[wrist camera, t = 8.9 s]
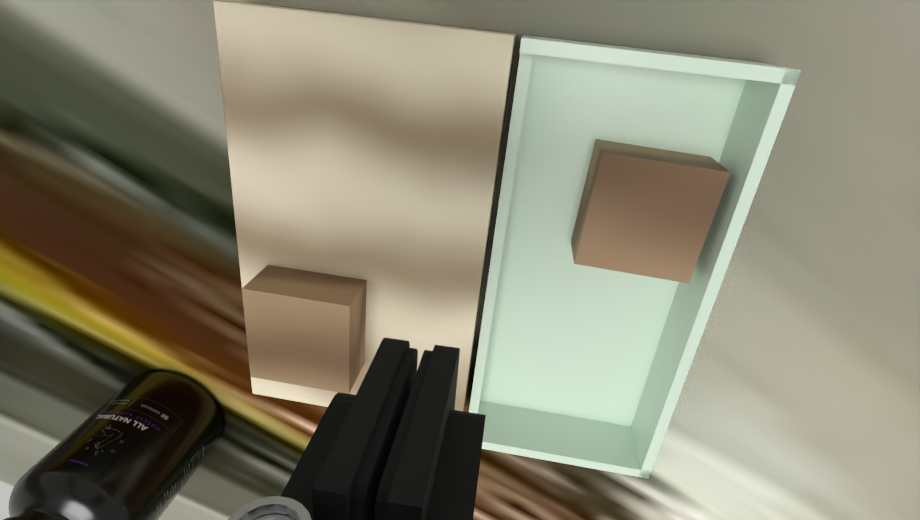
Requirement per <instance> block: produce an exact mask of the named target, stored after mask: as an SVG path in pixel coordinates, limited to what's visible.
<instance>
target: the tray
mask: <svg viewBox="0 0 920 520" xmlns="http://www.w3.org/2000/svg"><path fill="white" fill-rule="evenodd" d="M519 53H520V57H519V64H518V71H517V78H516V85H515V92H514V99H513V106H512V113H511V120H510V127H509V134H508V141H507V148H506V155H505V162H504V169H503V176H502V183H501V190H500V197H499V204H498V211H497V218H496V225H495V232H494V239H493V246H492V253H491V260H490V267H489V274H488V281H487V288H486V295H485V302H484V309H483V316H482V323H481V330H480V337H479V344H478V351H477V358H476V365H475V372H474V379H473V386H472V393H471V400H470V407H469V412H470V413H477V414H483V415H486V417H485V426H484V434H483V442H482V449H487V450H493V451H498V452H504V453H509V454H515V455H520V456H526V457H531V458H537V459H542V460H548V461H553V462H559V463H564V464H570V465H576V466H581V467H587V468H592V469H598V470H603V471H609V472H614V473H620V474H625V475H631V476H636V477H642V478H647V479H648V478H649V476H650V473H651V470H652V468H653V465H654V462H655V460H656V457H657V454H658V452H659V449H660V446H661V444H662V441H663V438H664V436H665V433H666V430H667V428H668V425H669V422H670V420H671V417H672V414H673V412H674V409H675V406H676V404H677V401H678V398H679V396H680V393H681V390H682V388H683V385H684V382H685V380H686V377H687V374H688V372H689V369H690V366H691V364H692V361H693V358H694V356H695V353H696V350H697V348H698V345H699V342H700V340H701V337H702V334H703V332H704V329H705V326H706V324H707V321H708V318H709V316H710V313H711V310H712V307H713V305H714V302H715V299H716V297H717V294H718V291H719V289H720V286H721V283H722V281H723V278H724V275H725V273H726V270H727V267H728V265H729V262H730V259H731V257H732V254H733V251H734V249H735V246H736V243H737V241H738V238H739V235H740V233H741V230H742V227H743V225H744V222H745V219H746V217H747V214H748V211H749V209H750V206H751V203H752V201H753V198H754V195H755V193H756V190H757V187H758V185H759V182H760V179H761V177H762V174H763V171H764V169H765V166H766V163H767V161H768V158H769V155H770V153H771V150H772V147H773V145H774V142H775V139H776V137H777V134H778V131H779V129H780V126H781V123H782V121H783V118H784V115H785V113H786V110H787V107H788V105H789V102H790V99H791V97H792V94H793V91H794V89H795V86H796V83H797V81H798V78H799V75H800V73H801V70H797V69H792V68H787V67H782V66H777V65H772V64H767V63H761V62H753V61H744V60H736V59H727V58H718V57H710V56H701V55H693V54H684V53H675V52H667V51H658V50H650V49H641V48H632V47H624V46H615V45H606V44H598V43H589V42H581V41H572V40H563V39H555V38H546V37H538V36H529V35H523V36H522V38H521V44H520V51H519ZM596 139H599V140H606V141H612V142H619V143H625V144H631V145H638V146H644V147H651V148H657V149H664V150H670V151H676V152H683V153H689V154H696V155H702V156H708V157H712V158H713V159H714V160H715V161H717V162H718V163H719V164H721V165H722V166H723V167H724V168H726V169H727V170H728V171H729V172H731V173H730V175H729V178H728V181H727V183H726V186H725V189H724V191H723V194H722V197H721V199H720V202H719V205H718V207H717V210H716V213H715V215H714V218H713V221H712V224H711V226H710V229H709V232H708V234H707V237H706V240H705V242H704V245H703V248H702V250H701V253H700V256H699V258H698V261H697V264H696V266H695V269H694V272H693V274H692V277H691V280H690V282H689V283H683V282H677V281H671V280H665V279H660V278H654V277H648V276H642V275H636V274H631V273H625V272H619V271H613V270H607V269H602V268H596V267H590V266H584V265H579V264H574V260H573V253H572V246H571V238H572V234H573V230H574V226H575V222H576V218H577V214H578V210H579V206H580V202H581V198H582V193H583V189H584V185H585V181H586V177H587V173H588V169H589V165H590V161H591V157H592V153H593V148H594V144H595V140H596Z"/></svg>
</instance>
